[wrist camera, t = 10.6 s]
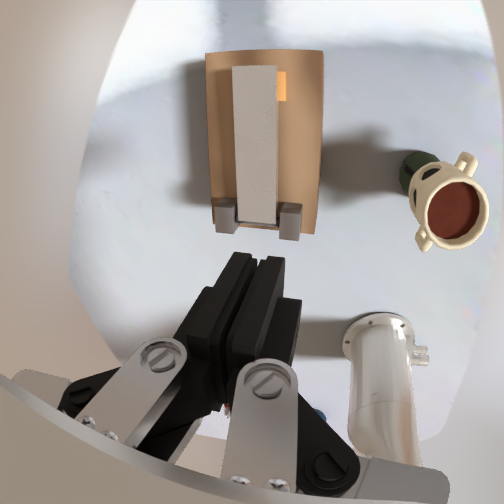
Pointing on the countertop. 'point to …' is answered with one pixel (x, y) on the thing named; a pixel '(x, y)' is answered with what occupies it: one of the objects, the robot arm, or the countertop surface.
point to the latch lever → (256, 143)
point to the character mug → (445, 200)
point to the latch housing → (289, 136)
